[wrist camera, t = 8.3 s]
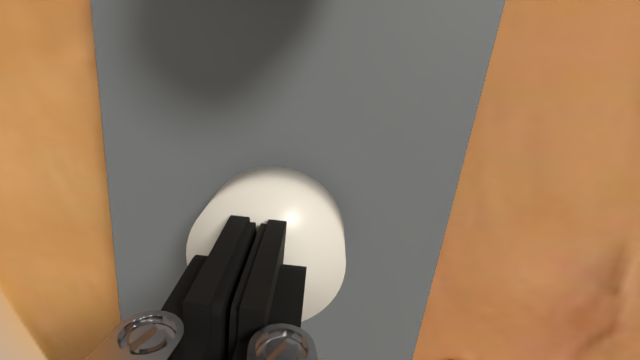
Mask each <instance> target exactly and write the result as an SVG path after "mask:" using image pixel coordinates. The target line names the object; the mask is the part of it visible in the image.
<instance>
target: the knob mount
mask: <svg viewBox="0 0 640 360" xmlns="http://www.w3.org/2000/svg"><path fill="white" fill-rule="evenodd" d="M504 4H505V0H91V11H92V22H93V32H94V43H95V53H96V64H97V75H98V85H99V96H100V106H101V117H102V128H103V138H104V149H105V159H106V170H107V181H108V191H109V202H110V212H111V223H112V234H113V244H114V255H115V265H116V276H117V287H118V297H119V308H120V318H121V322H122V321H124V320H125V319H127V318H129V317H131V316H133V315H135V314H138V313H142V312H145V311H153V310H161V309H162V307H163V305H164V304H165V302H166V301H167V299H168V297H169V296H170V294H171V292H172V291H173V289H174V288H175V286H176V284H177V283H178V281H179V279H180V278H181V276H182V274H183V273H184V271H185V270H186V268H187V260H186V246H187V241H188V236H189V234H190V231H191V229H192V227H193V225H194V223H195V221H196V220H197V218H198V217H199V216H200V214H201V213H202V212H203V210H204V209H205V207H206V206H207V205H208V203H209V202H210V201H211V199H212V198H213V197H214V195H215V194H216V193H217V191H218V190H219V189H220V188H221V186H222V185H224V184H225V183H226V182H227V181H228V180H229V179H231V178H232V177H234V176H235V175H237V174H239V173H241V172H243V171H246V170H249V169H252V168H257V167H263V166H280V167H286V168H291V169H294V170H297V171H300V172H302V173H304V174H307V175H309V176H310V177H312V178H314V179H315V180H317V181H318V182H319V183H320V184H322V185H323V186H324V187H325V188H326V189H327V190H328V191H329V192H330V194H331V195H332V197H333V198H334V199H335V201H336V203H337V205H338V207H339V209H340V212H341V214H342V219H343V223H344V239H345V256H346V269H345V275H344V279H343V282H342V285H341V287H340V289H339V291H338V293H337V295H336V296H335V298H334V299H333V300H332V301H331V302H330V304H329V305H328V306H326V307H325V308H324V309H323V310H322V311H321V312H319V313H318V314H316V315H315V316H313V317H311V318H309V319H307V320H305V321H302V322H301V329H303V330H304V331H306V332H307V333H308V334H309V335H310V336H311V338H312V339H313V341H314V343H315V346H316V352H317V358H318V359H323V360H412V358H413V354H414V350H415V346H416V342H417V339H418V335H419V331H420V327H421V323H422V319H423V316H424V312H425V308H426V304H427V300H428V296H429V292H430V289H431V285H432V281H433V277H434V273H435V269H436V266H437V262H438V258H439V254H440V250H441V246H442V242H443V239H444V235H445V231H446V227H447V223H448V219H449V216H450V212H451V208H452V204H453V200H454V196H455V192H456V189H457V185H458V181H459V177H460V173H461V169H462V166H463V162H464V158H465V154H466V150H467V146H468V143H469V139H470V135H471V131H472V127H473V123H474V119H475V116H476V112H477V108H478V104H479V100H480V96H481V93H482V89H483V85H484V81H485V77H486V73H487V69H488V66H489V62H490V58H491V54H492V50H493V46H494V43H495V39H496V35H497V31H498V27H499V23H500V19H501V16H502V12H503V8H504Z"/></svg>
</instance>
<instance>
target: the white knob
mask: <svg viewBox="0 0 640 360" xmlns="http://www.w3.org/2000/svg"><path fill="white" fill-rule="evenodd" d="M230 215H235V216H244V217H250V222H255V223H256V235H257V232H258V230H259V227H260V224H261V223H264V224H267V222H268V220H269V219H271V220H280V221H287V227H286V238H285V249H284V260H283V264H287V265H296V266H305V267H307V269H306V279H305V290H304V300H303V310H302V320H301V322H302V321H305V320H307V319H309V318H311V317H313V316H315V315H316V314H318V313H319V312H321V311H322V310H323V309H324V308H325V307H326V306H328V305H329V304H330V302H331V301H332V300H333V299H334V298H335V296H336V295H337V293H338V291H339V289H340V287H341V285H342V282H343V279H344V275H345V269H346V256H345V239H344V223H343V219H342V214H341V212H340V209H339V207H338V205H337V203H336V201H335V199H334V198H333V197H332V195H331V194H330V192H329V191H328V190H327V189H326V188H325V187H324V186H323V185H322V184H320V183H319V182H318V181H317V180H315V179H314V178H312V177H310V176H309V175H307V174H304V173H302V172H300V171H297V170H294V169H291V168H286V167H280V166H263V167H257V168H252V169H249V170H246V171H243V172H241V173H239V174H237V175H235V176H234V177H232V178H231V179H229V180H228V181H227V182H226V183H225V184H224V185H222V186H221V188H220V189H219V190H218V191H217V193H216V194H215V195H214V197H213V198H212V199H211V201H210V202H209V203H208V205H207V206H206V207H205V209H204V210H203V212H202V213H201V214H200V216H199V217H198V218H197V220H196V221H195V223H194V225H193V227H192V229H191V231H190V234H189V236H188V241H187V246H186V260H187V266H188V265H189V263H190V261H191V260H192V258H193V257H194V256H195V255H204V256H208V255H209V253H210V251H211V250H212V248H213V246H214V244H215V242H216V241H217V239H218V237H219V235H220V233H221V231H222V230H223V228H224V226H225V224H226V222H227V220H228V219H229V217H230ZM255 238H256V237H255Z"/></svg>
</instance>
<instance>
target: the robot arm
mask: <svg viewBox="0 0 640 360" xmlns="http://www.w3.org/2000/svg"><path fill="white" fill-rule="evenodd" d="M286 227H287V221H280V220H271V219H269V220H268V222H267V224H264V223H261V224H260V227H259V230H258V232H257V235H256V223H255V222H250V217H244V216H235V215H230V217H229V219H228V220H227V222H226V224H225V226H224V228H223V230H222V231H221V233H220V235H219V237H218V239H217V241H216V242H215V244H214V246H213V248H212V250H211V251H210V253H209V255H208V256H204V255H195V256H194V257H193V258H192V260H191V261H190V263H189V265H188V266H187V268H186V270H185V271H184V273H183V274H182V276H181V278H180V279H179V281H178V283H177V284H176V286H175V288H174V289H173V291H172V292H171V294H170V296H169V297H168V299H167V301H166V302H165V304H164V305H163V307H162V309H161V310H153V311H145V312H142V313H138V314H135V315H133V316H131V317H129V318H127V319H125V320H124V321H122V322H121V323H120V324H119V325H118V326H116V327H115V328H114V329H113V331H112V332H111V333H110V334H109V335H108V336H107V337H106V338H105V339H104V340H103V341H102V342H101V343H100V344H99V345H98V346H97V347H96V348H95V349H94V350H93V351H92V352H91V353H90V354H89V355H88V356H87V358H86V359H85V360H318V358H317V352H316V346H315V343H314V341H313V339H312V338H311V336H310V335H309V334H308V333H307V332H306V331H304V330H303V329H301V320H302V310H303V300H304V290H305V279H306V269H307V267H305V266H296V265H287V264H283V260H284V249H285V238H286ZM255 237H256V238H255Z"/></svg>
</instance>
